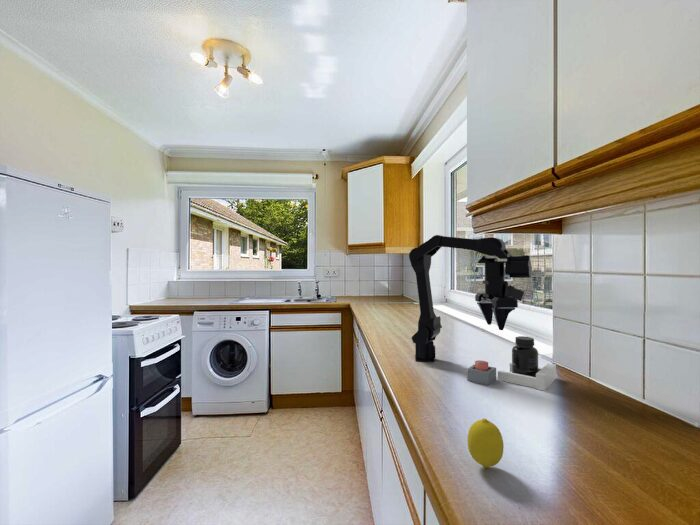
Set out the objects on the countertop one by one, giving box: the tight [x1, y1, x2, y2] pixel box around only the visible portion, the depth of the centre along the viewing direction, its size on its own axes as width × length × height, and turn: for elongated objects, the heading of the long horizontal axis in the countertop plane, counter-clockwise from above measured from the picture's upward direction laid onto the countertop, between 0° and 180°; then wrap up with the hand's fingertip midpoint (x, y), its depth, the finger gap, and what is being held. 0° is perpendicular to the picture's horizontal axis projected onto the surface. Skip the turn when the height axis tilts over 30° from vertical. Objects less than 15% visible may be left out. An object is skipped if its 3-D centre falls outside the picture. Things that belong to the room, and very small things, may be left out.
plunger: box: [474, 360, 489, 371], centre depth 98 cm, size 4×4×4 cm
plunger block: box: [466, 364, 497, 386], centre depth 98 cm, size 6×6×4 cm
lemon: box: [467, 417, 504, 469], centre depth 56 cm, size 6×6×8 cm
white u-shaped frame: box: [497, 362, 557, 391], centre depth 99 cm, size 12×13×4 cm
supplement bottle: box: [511, 335, 539, 377], centre depth 99 cm, size 7×7×12 cm
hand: (495, 327), depth 107 cm, fingers open, 9 cm apart
